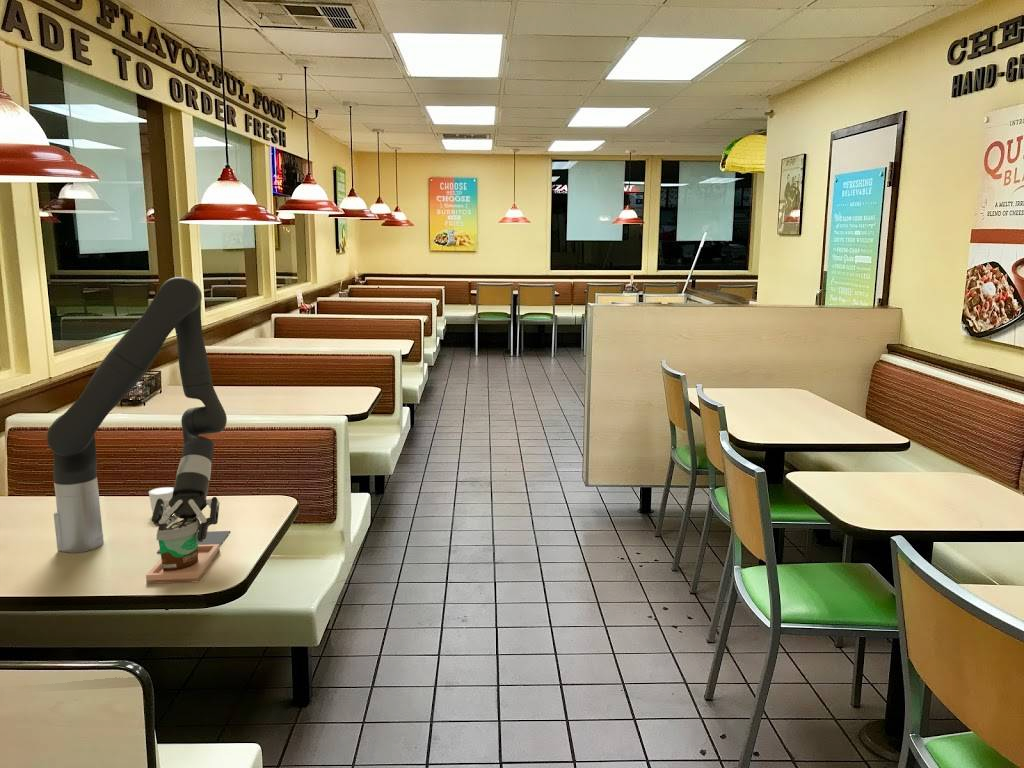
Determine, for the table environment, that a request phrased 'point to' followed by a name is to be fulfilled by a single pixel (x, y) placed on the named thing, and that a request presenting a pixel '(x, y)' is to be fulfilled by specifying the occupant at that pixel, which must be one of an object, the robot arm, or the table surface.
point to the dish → (188, 574)
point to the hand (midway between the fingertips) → (180, 541)
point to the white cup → (162, 493)
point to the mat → (213, 538)
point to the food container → (179, 544)
